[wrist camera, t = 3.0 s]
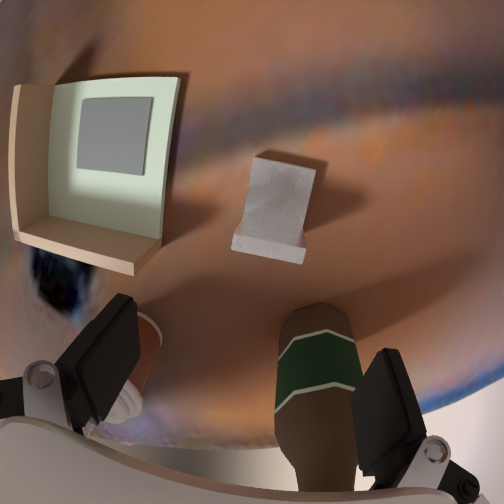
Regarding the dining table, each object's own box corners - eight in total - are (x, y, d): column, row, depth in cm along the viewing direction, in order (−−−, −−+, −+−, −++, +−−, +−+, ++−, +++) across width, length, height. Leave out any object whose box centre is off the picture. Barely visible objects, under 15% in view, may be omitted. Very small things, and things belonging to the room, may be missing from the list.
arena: (161, 247, 27) (133, 276, 22) (48, 221, 27) (14, 239, 22) (181, 78, 20) (151, 65, 15) (52, 86, 21) (14, 86, 15)
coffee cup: (185, 356, 33) (152, 435, 22) (129, 359, 35) (91, 424, 24) (152, 294, 29) (98, 371, 19) (96, 304, 31) (42, 366, 20)
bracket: (298, 234, 25) (302, 264, 20) (243, 223, 25) (231, 249, 20) (314, 168, 23) (323, 179, 17) (255, 156, 23) (245, 163, 17)
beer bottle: (264, 327, 29) (228, 566, 8) (324, 286, 27) (358, 565, 5) (308, 366, 31) (306, 569, 9) (364, 332, 28) (409, 552, 7)
